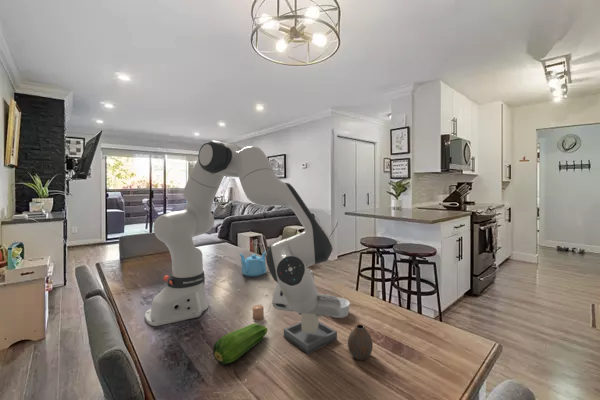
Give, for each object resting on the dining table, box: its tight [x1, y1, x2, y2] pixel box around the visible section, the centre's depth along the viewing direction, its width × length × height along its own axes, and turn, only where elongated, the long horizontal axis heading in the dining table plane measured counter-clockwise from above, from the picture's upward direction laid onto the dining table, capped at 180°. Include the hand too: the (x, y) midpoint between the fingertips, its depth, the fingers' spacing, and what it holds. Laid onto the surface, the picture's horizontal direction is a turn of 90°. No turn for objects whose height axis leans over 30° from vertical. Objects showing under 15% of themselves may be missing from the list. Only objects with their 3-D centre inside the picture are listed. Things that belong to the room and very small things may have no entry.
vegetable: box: [212, 323, 268, 365], centre depth 84 cm, size 7×7×20 cm
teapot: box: [238, 250, 267, 278], centre depth 152 cm, size 15×15×10 cm
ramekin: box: [331, 297, 351, 319], centre depth 107 cm, size 9×9×4 cm
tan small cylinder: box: [252, 304, 265, 322], centre depth 104 cm, size 4×4×4 cm
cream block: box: [300, 313, 320, 334], centre depth 90 cm, size 4×4×9 cm
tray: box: [283, 321, 338, 355], centre depth 90 cm, size 12×12×2 cm
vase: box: [347, 324, 374, 361], centre depth 81 cm, size 7×7×9 cm
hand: (310, 313), depth 90 cm, fingers closed on cream block, 4 cm apart
